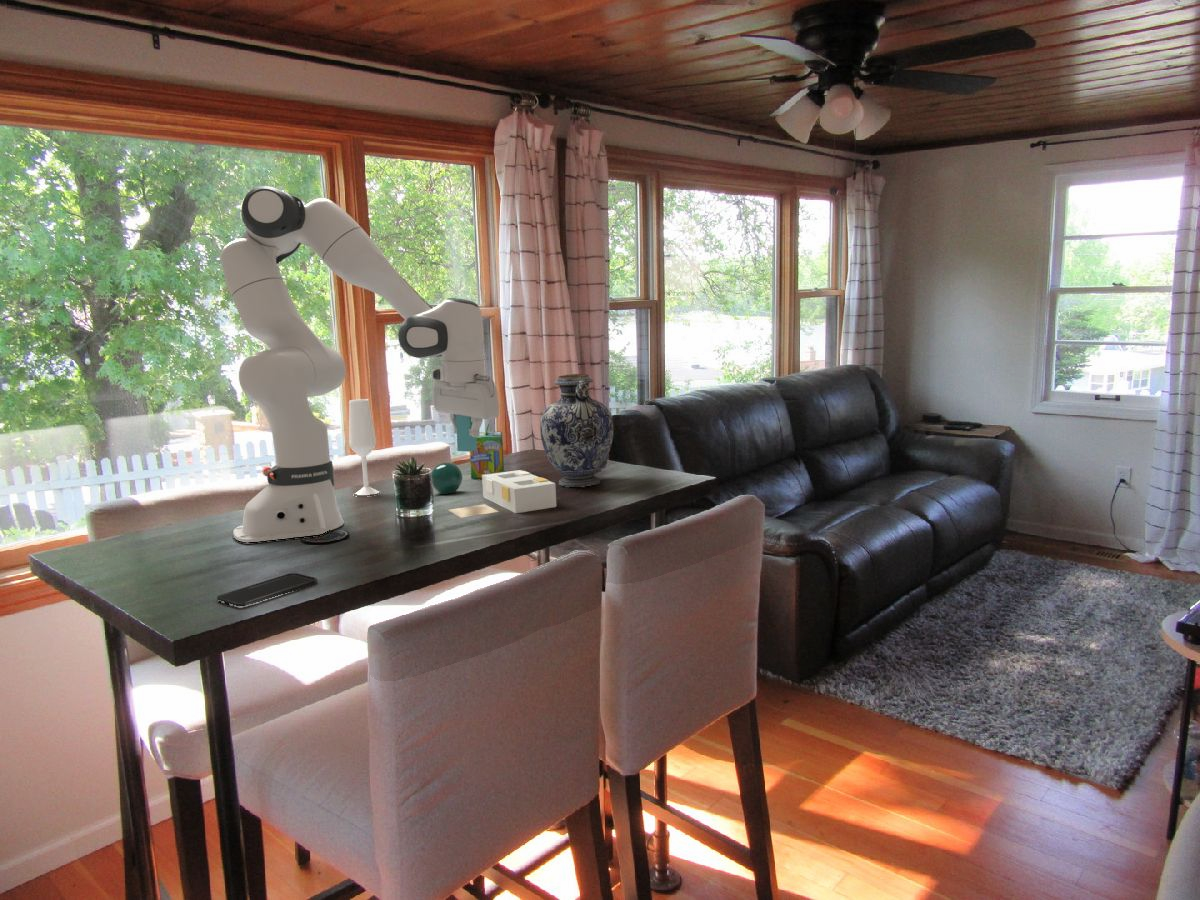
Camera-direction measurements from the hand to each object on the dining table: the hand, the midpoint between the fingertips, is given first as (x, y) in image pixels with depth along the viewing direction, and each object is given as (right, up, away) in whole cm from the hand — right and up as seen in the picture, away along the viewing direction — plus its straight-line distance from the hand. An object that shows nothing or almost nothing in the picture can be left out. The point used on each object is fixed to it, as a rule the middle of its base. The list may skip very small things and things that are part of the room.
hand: (466, 435), depth 194 cm
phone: (-26, -28, -47) cm, 60 cm away
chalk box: (-1, -10, +47) cm, 48 cm away
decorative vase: (+24, -12, +31) cm, 41 cm away
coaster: (+1, -18, +3) cm, 18 cm away
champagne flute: (-30, -15, +28) cm, 44 cm away
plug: (0, -3, +1) cm, 3 cm away
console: (+11, -16, +10) cm, 22 cm away
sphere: (-9, -14, +25) cm, 30 cm away
